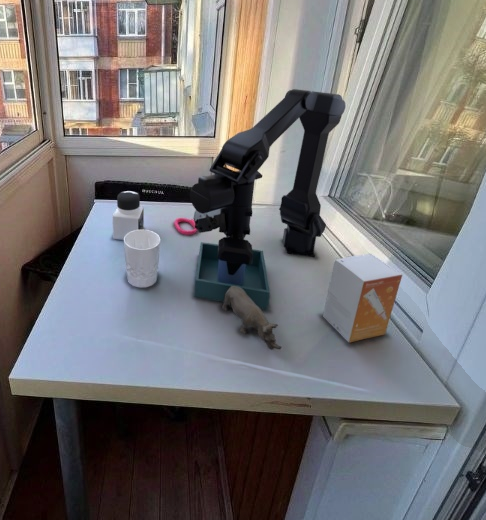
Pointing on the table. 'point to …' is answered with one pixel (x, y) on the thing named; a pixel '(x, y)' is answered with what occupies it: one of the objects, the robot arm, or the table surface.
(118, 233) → the medicine bottle
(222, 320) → the table surface
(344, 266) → the small box
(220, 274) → the bottle
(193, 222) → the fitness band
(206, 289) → the tray
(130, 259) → the white cup
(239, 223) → the robot arm
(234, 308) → the rhino figurine
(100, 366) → the table surface
